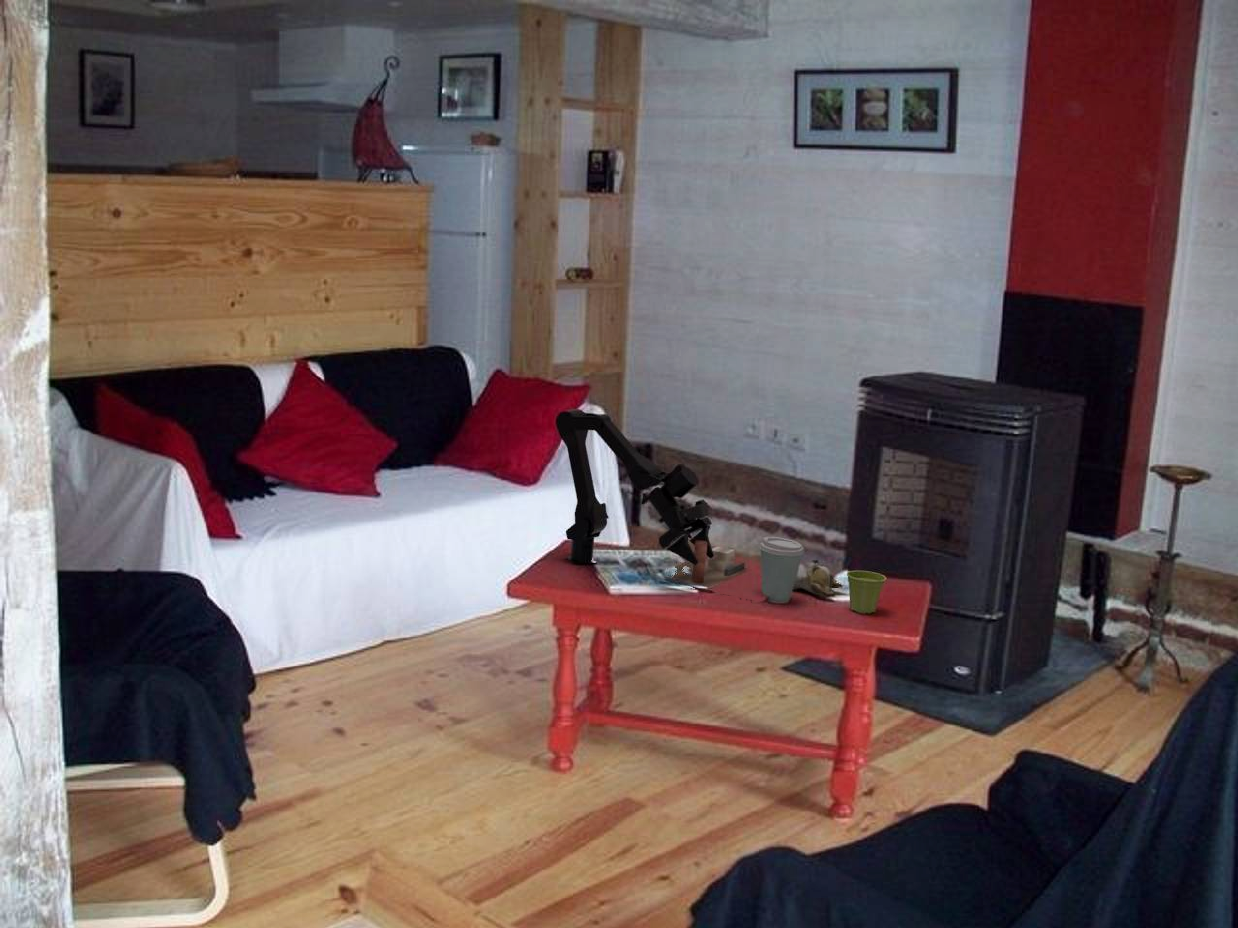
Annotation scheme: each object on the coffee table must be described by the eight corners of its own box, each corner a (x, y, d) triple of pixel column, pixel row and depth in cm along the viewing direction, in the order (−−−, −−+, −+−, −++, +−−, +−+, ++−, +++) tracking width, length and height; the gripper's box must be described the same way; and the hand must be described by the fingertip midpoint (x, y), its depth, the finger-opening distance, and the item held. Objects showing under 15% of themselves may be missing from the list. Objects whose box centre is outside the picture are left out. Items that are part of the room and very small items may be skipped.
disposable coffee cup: (785, 593, 353) (791, 534, 350) (806, 606, 343) (813, 545, 341) (747, 594, 349) (753, 534, 347) (767, 607, 340) (773, 546, 337)
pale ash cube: (707, 568, 364) (709, 549, 363) (715, 565, 369) (717, 546, 368) (725, 572, 362) (726, 553, 361) (733, 569, 366) (735, 550, 365)
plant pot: (840, 603, 348) (844, 568, 347) (879, 606, 348) (883, 572, 347) (845, 614, 339) (849, 578, 338) (884, 617, 339) (889, 582, 337)
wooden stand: (652, 579, 355) (656, 535, 353) (695, 561, 375) (699, 520, 373) (710, 592, 347) (714, 547, 345) (750, 573, 368) (755, 531, 366)
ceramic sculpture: (799, 549, 362) (854, 564, 355) (794, 581, 364) (848, 597, 357) (782, 557, 353) (838, 572, 346) (776, 590, 355) (832, 606, 348)
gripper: (673, 495, 342) (711, 549, 338) (708, 484, 358) (744, 535, 355) (642, 521, 347) (678, 574, 344) (677, 509, 363) (712, 560, 360)
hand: (704, 560), depth 350 cm, fingers open, 8 cm apart
